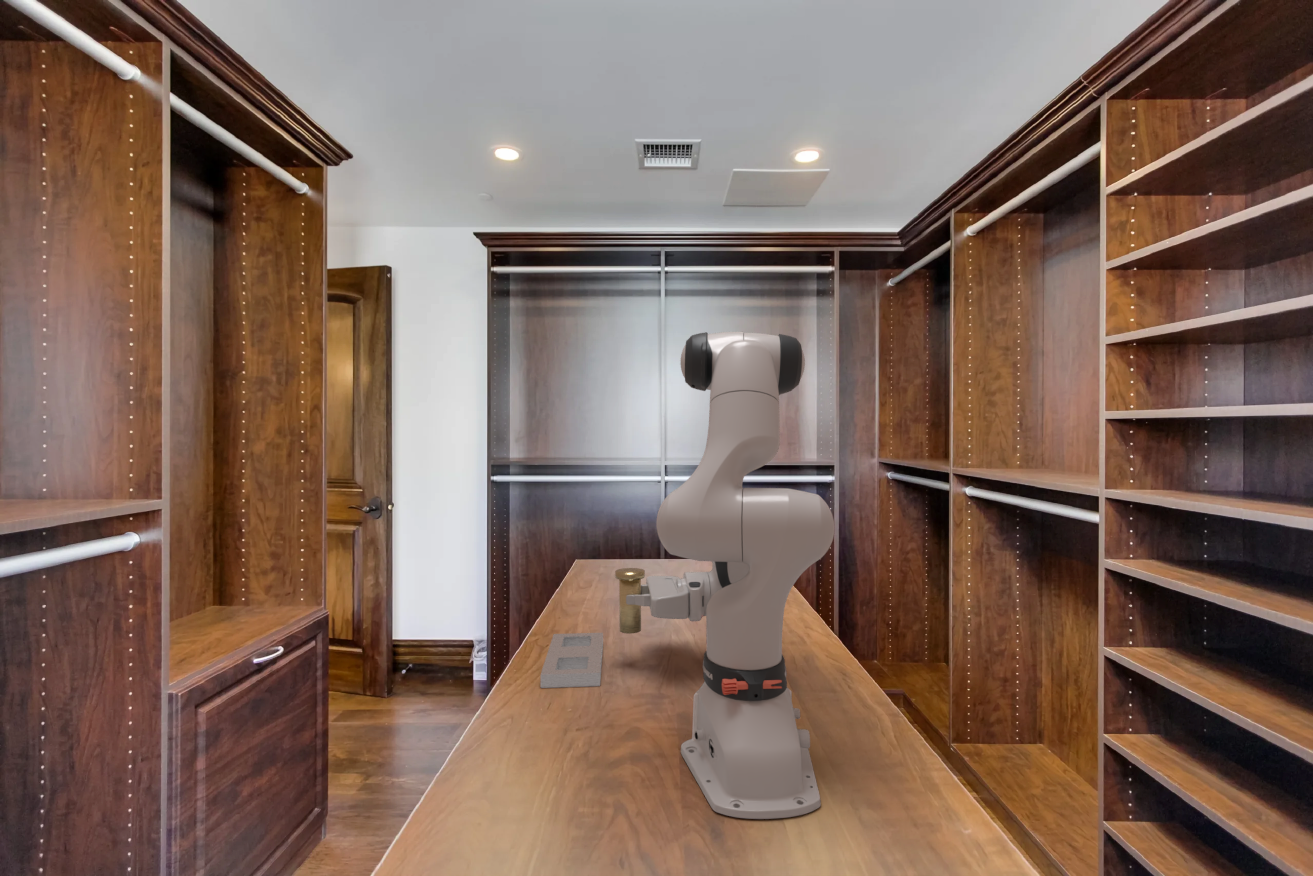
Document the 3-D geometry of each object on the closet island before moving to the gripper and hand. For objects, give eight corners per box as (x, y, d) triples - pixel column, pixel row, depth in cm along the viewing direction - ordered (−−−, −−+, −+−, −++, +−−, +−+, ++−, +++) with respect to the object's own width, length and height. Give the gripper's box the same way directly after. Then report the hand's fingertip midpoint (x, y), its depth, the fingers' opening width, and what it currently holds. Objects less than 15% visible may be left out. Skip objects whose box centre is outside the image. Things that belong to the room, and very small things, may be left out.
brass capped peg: (645, 634, 115) (645, 573, 115) (615, 635, 115) (615, 574, 115) (644, 625, 121) (644, 567, 121) (615, 626, 121) (615, 568, 121)
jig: (600, 686, 108) (599, 672, 108) (540, 688, 107) (540, 674, 107) (603, 643, 130) (603, 632, 130) (553, 645, 129) (553, 634, 129)
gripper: (686, 568, 129) (625, 569, 128) (700, 590, 109) (626, 592, 108) (687, 596, 129) (625, 597, 128) (700, 624, 109) (626, 626, 108)
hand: (625, 595), depth 118 cm, fingers closed on brass capped peg, 4 cm apart
